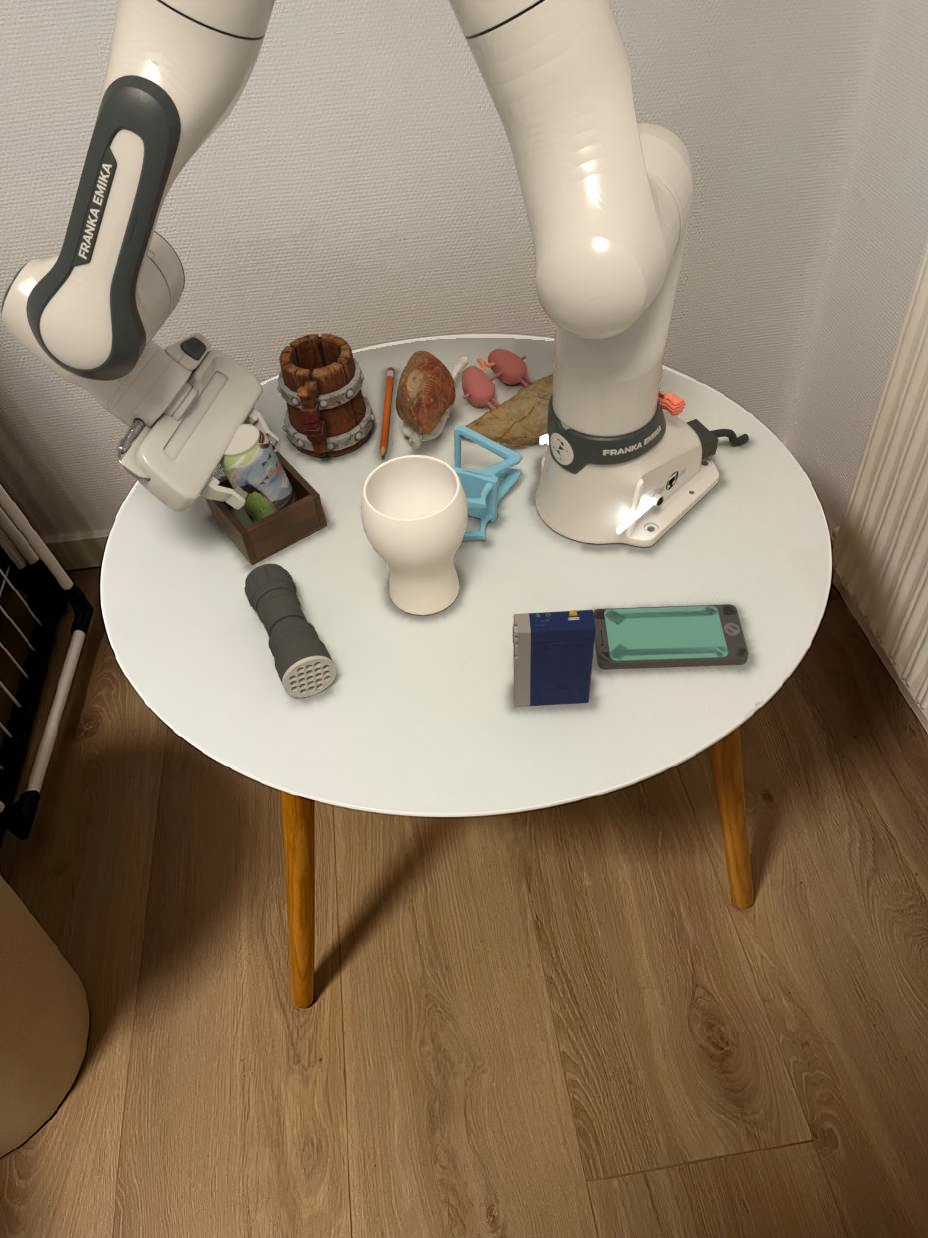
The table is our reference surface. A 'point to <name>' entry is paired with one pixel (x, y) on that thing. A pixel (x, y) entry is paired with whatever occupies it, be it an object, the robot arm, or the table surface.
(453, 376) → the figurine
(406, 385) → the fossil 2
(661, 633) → the smartphone
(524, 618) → the blue rectangular block
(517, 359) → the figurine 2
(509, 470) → the chair
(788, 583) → the table surface
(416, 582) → the cup
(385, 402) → the pencil
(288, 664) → the flashlight
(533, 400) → the fossil
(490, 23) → the robot arm
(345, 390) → the mug
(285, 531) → the can holder
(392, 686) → the table surface
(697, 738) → the table surface
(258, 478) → the beverage can
